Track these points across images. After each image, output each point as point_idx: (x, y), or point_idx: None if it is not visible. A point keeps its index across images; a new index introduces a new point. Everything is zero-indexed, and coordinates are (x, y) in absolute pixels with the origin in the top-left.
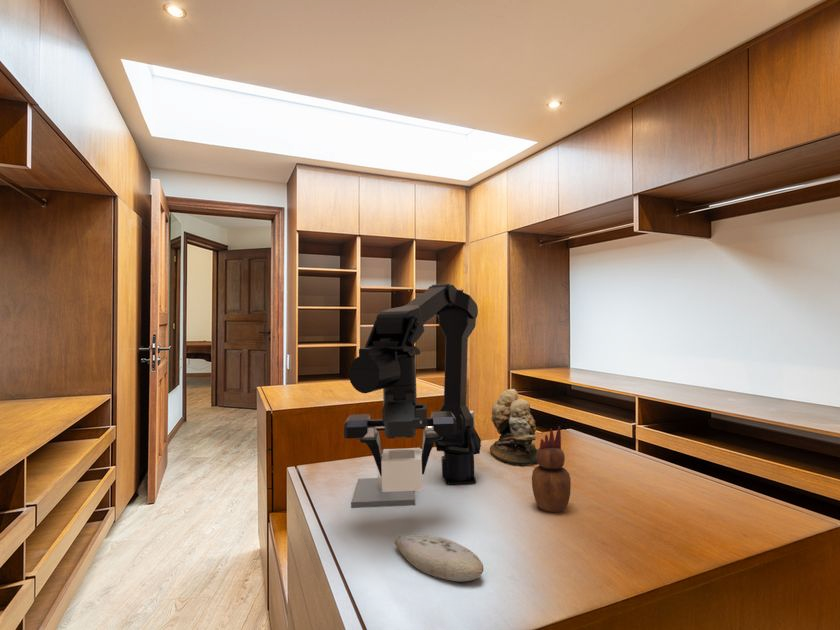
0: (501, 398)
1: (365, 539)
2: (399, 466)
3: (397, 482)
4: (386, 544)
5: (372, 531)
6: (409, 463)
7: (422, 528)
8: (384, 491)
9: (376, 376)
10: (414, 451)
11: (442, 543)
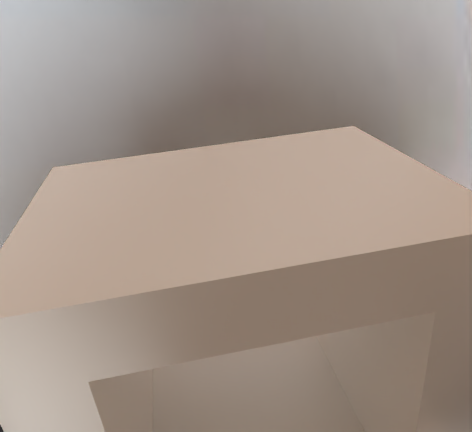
0: None
1: (343, 54)
2: (274, 224)
3: (259, 160)
4: (251, 8)
5: (320, 122)
6: (149, 266)
7: (111, 157)
8: (338, 130)
9: None
10: None
11: None
